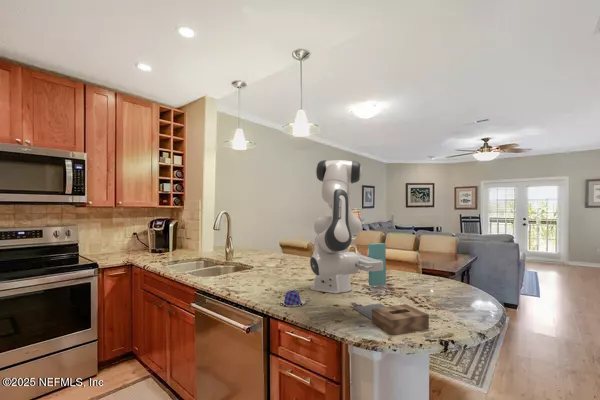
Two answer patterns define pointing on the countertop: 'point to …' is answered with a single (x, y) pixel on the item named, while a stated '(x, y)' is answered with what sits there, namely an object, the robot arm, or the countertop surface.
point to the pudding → (293, 298)
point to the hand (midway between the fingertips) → (378, 260)
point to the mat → (368, 309)
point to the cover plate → (380, 253)
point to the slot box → (400, 319)
